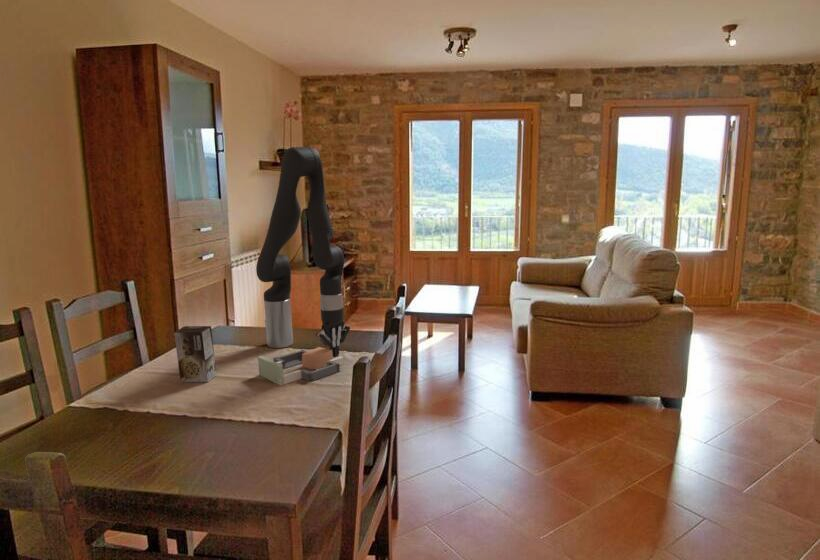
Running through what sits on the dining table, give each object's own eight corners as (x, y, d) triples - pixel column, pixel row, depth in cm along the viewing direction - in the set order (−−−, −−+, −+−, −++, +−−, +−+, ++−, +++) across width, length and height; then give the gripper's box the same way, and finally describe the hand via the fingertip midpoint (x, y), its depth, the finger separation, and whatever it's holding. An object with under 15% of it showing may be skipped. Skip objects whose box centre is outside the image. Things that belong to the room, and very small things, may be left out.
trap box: (253, 371, 170) (251, 354, 168) (315, 353, 186) (314, 336, 185) (287, 389, 155) (286, 369, 154) (351, 367, 171) (350, 349, 170)
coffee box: (217, 374, 168) (212, 325, 165) (207, 382, 162) (202, 331, 158) (189, 374, 169) (184, 325, 166) (179, 382, 163) (173, 331, 159)
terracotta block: (302, 367, 173) (301, 354, 172) (319, 359, 180) (318, 347, 179) (316, 370, 170) (315, 357, 169) (333, 362, 176) (332, 349, 176)
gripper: (340, 301, 183) (343, 349, 186) (308, 308, 174) (312, 359, 177) (354, 304, 178) (357, 353, 181) (322, 312, 168) (325, 364, 172)
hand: (334, 356), depth 179 cm, fingers closed
